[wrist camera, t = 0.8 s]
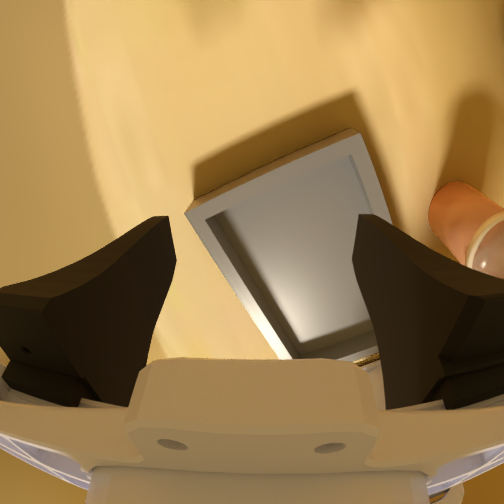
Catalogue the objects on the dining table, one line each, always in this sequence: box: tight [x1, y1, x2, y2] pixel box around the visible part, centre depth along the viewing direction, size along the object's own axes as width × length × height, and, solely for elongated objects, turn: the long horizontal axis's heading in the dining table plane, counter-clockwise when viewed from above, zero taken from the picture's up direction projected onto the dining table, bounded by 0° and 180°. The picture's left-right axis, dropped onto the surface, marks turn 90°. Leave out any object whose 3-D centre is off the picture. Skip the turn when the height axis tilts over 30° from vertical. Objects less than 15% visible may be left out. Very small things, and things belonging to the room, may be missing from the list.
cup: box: [429, 181, 504, 279], centre depth 17 cm, size 5×5×7 cm
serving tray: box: [184, 128, 393, 362], centre depth 23 cm, size 18×12×2 cm, turn 27°
